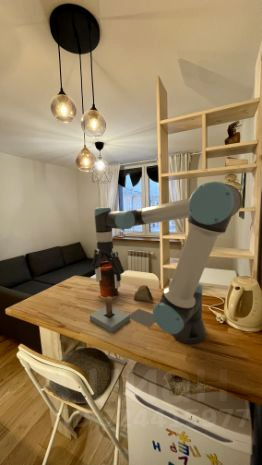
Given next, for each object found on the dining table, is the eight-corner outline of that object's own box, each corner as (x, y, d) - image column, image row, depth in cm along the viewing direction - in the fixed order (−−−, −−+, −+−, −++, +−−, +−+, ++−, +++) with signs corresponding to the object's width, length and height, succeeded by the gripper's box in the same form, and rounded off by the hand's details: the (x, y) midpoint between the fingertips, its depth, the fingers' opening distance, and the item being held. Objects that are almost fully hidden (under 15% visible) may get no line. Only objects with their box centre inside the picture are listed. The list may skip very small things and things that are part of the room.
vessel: (94, 291, 130) (93, 262, 127) (114, 287, 136) (114, 259, 133) (100, 301, 117) (99, 269, 114) (122, 296, 123) (122, 265, 120)
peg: (114, 320, 98) (112, 297, 96) (109, 323, 95) (108, 300, 93) (110, 318, 99) (108, 295, 98) (105, 320, 97) (104, 298, 95)
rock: (129, 298, 115) (143, 300, 109) (132, 283, 118) (146, 285, 113) (138, 302, 122) (152, 304, 116) (141, 288, 126) (155, 290, 120)
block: (129, 320, 97) (129, 315, 96) (112, 333, 88) (111, 327, 87) (107, 310, 107) (107, 305, 106) (90, 320, 98) (89, 315, 98)
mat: (160, 318, 98) (160, 317, 98) (149, 328, 90) (149, 327, 90) (138, 309, 107) (138, 308, 107) (126, 317, 99) (126, 316, 99)
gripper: (130, 241, 86) (132, 287, 89) (94, 237, 102) (97, 276, 105) (118, 244, 80) (121, 293, 83) (82, 239, 96) (85, 280, 100)
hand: (107, 283), depth 94 cm, fingers open, 13 cm apart
